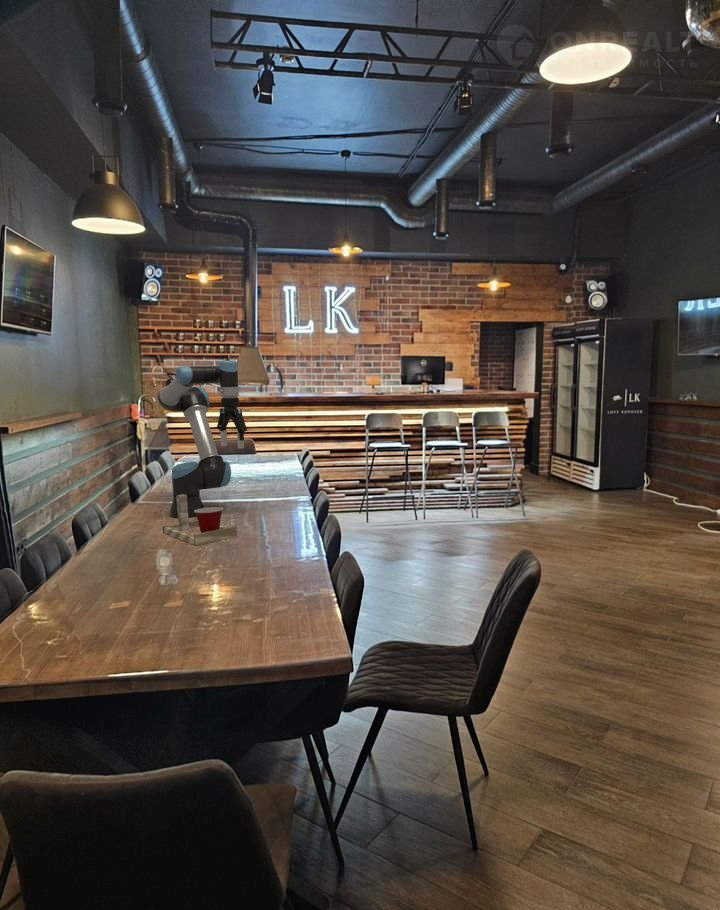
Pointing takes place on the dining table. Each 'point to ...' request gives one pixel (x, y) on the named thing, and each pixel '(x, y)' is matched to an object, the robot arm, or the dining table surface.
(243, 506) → the dining table surface
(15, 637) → the dining table surface
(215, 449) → the robot arm
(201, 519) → the plastic cup
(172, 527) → the open rectangular frame
